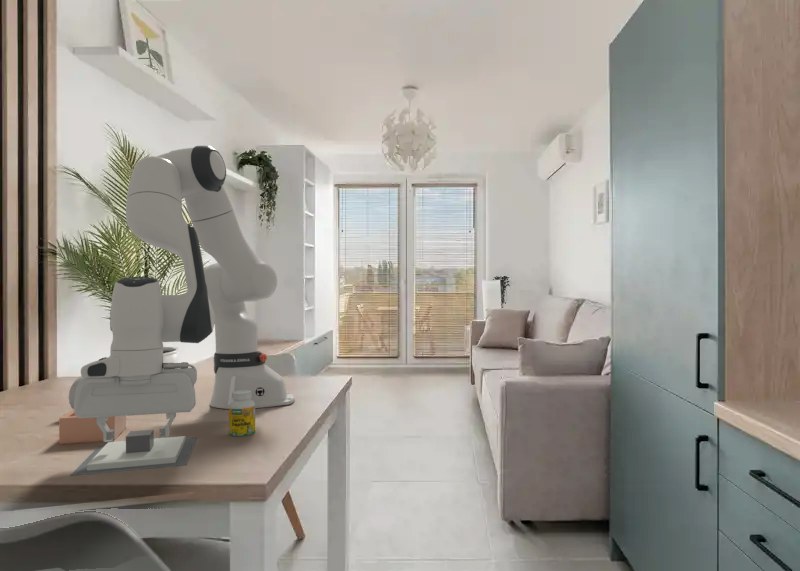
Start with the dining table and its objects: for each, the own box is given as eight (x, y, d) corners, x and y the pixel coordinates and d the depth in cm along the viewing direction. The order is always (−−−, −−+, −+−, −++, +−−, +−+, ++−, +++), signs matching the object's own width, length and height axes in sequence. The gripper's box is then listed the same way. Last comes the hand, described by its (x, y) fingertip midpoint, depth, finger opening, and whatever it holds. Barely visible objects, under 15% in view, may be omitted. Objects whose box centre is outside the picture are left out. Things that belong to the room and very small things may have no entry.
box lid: (185, 441, 108) (185, 421, 108) (175, 462, 94) (175, 440, 94) (108, 447, 104) (108, 426, 104) (86, 470, 90) (86, 447, 90)
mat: (196, 441, 110) (196, 437, 110) (186, 469, 93) (186, 465, 93) (99, 449, 105) (99, 445, 105) (69, 480, 88) (69, 475, 88)
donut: (77, 418, 132) (76, 377, 132) (65, 417, 132) (64, 377, 132) (107, 409, 141) (106, 371, 141) (95, 408, 142) (95, 371, 142)
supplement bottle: (255, 432, 117) (255, 388, 117) (254, 439, 111) (254, 393, 111) (230, 434, 115) (229, 389, 115) (227, 441, 110) (227, 394, 110)
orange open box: (126, 431, 118) (125, 404, 118) (114, 444, 109) (114, 414, 109) (75, 435, 116) (75, 407, 116) (59, 448, 106) (59, 418, 106)
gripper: (198, 359, 105) (198, 430, 104) (82, 364, 99) (82, 438, 99) (194, 363, 99) (195, 438, 98) (70, 368, 93) (70, 447, 93)
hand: (137, 438), depth 99 cm, fingers open, 8 cm apart
